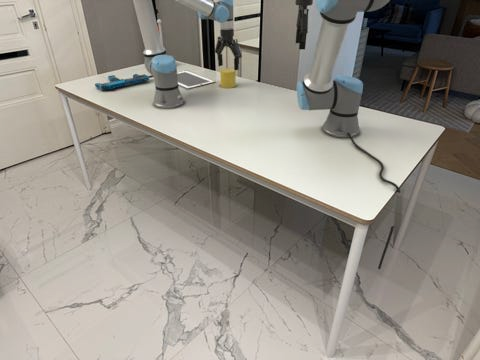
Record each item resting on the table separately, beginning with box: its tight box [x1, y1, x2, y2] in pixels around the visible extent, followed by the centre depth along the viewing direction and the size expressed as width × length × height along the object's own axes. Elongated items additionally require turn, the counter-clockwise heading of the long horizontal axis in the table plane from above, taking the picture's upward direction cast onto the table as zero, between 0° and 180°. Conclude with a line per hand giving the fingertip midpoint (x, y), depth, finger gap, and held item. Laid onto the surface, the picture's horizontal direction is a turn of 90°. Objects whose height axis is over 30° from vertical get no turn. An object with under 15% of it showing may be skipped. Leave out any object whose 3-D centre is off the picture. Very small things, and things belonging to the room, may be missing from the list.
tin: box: [219, 68, 237, 89], centre depth 201 cm, size 9×9×9 cm
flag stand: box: [156, 18, 164, 47], centre depth 234 cm, size 13×13×30 cm
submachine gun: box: [94, 73, 154, 91], centre depth 208 cm, size 34×4×25 cm
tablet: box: [177, 70, 216, 90], centre depth 213 cm, size 32×20×1 cm, turn 41°
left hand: (228, 67), depth 198 cm, fingers open, 13 cm apart
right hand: (300, 46), depth 160 cm, fingers open, 13 cm apart
